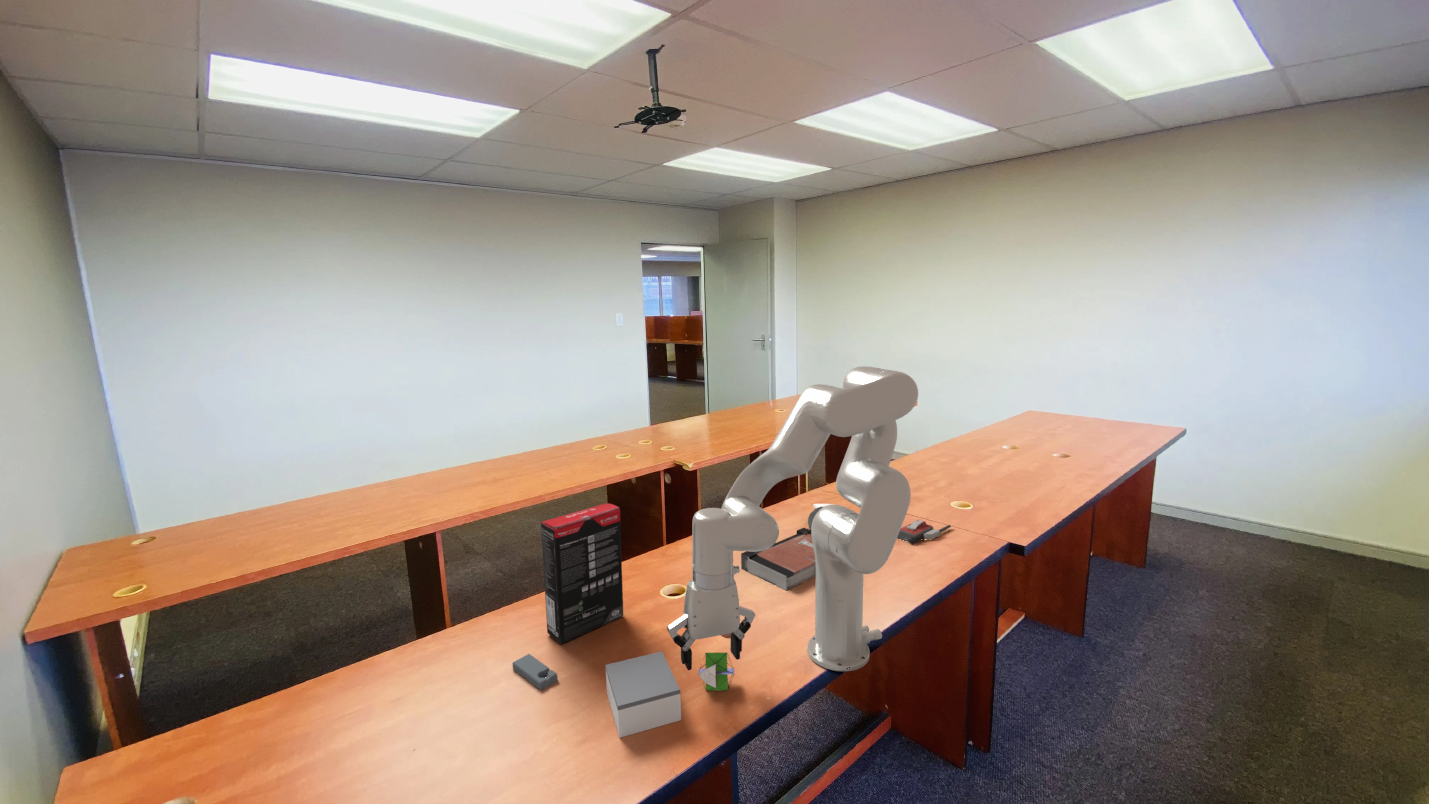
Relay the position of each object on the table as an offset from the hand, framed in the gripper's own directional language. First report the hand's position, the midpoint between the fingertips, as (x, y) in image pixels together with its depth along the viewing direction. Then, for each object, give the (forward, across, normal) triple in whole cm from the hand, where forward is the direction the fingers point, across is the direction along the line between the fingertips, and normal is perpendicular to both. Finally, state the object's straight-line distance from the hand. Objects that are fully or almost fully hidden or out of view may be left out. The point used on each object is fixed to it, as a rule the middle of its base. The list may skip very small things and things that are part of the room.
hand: (711, 660), depth 107 cm
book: (+5, -40, -39) cm, 56 cm away
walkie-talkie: (+3, -86, -42) cm, 96 cm away
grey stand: (+6, +13, 0) cm, 15 cm away
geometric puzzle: (+6, -1, 0) cm, 6 cm away
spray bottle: (+4, -64, -65) cm, 92 cm away
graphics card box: (+7, +19, -31) cm, 37 cm away
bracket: (+7, +31, -17) cm, 37 cm away
